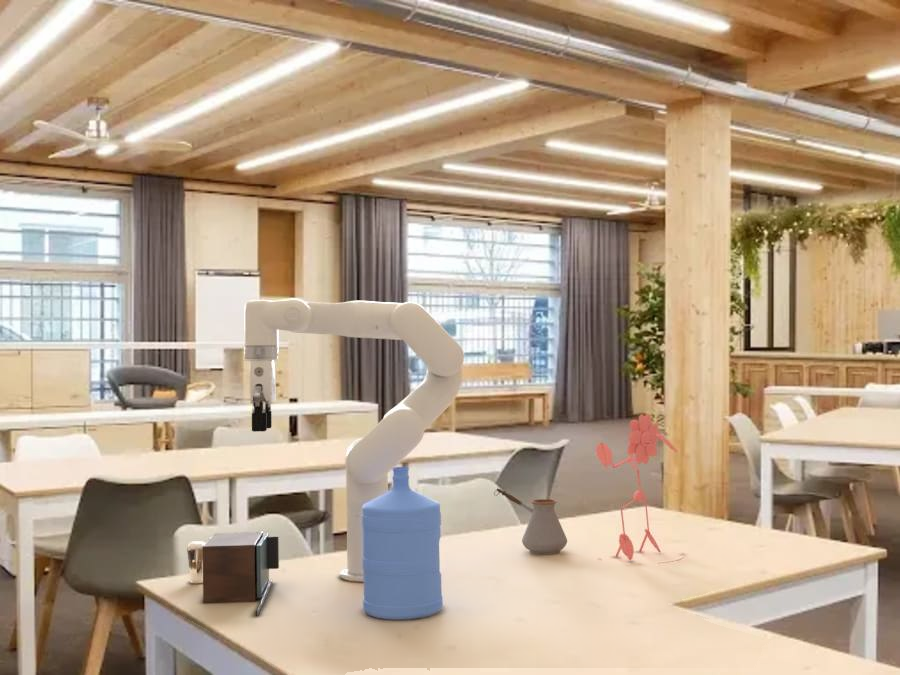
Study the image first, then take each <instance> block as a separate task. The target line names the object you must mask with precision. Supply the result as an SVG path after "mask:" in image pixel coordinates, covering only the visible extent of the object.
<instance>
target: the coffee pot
mask: <svg viewBox="0 0 900 675" xmlns="http://www.w3.org/2000/svg"><path fill="white" fill-rule="evenodd" d="M496 492H498V493H497V494H496ZM499 494H501V496H504V497H505V498H507V499H508V500H509V501H511V502H513V503H515V504H517V505H519V506H521V507H522V508H524V509H526V510H527V511H528V512H530V513H531V516H530V518H529V520H528V524H527V526H526V528H525V531H524V534H523V536H522V539H521V543H522V545H523V547H524V548H525V549H526V550H528V551H529V553H530V554H533V555H557V554H560V552H561V551H562V550H563V549H564V548H565V547H566V546H567V544H568V539H567V536H566V534H565V531H564V529H563V527H562V524H561V522H560V520H559V517H558V515H557V513H556V511H555V507H556V506H555V504H557V500H556V499H547V498H545V499H533V500H531V501H530V503H531V504H532V506H533V508H532V507H531V506H529V505H527V504H525V503H524V502H522V501H520V500H519V499H518V498H516V497H515V496H513V495H512V494H510V493H507V492H506V491H505V490H502V489H501V488H497V487H496V489H495V490H494V492H493V495H494V496H495V497H496V496H498V495H499Z"/></svg>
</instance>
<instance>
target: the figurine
mask: <svg viewBox="0 0 900 675" xmlns="http://www.w3.org/2000/svg"><path fill="white" fill-rule="evenodd" d="M629 427H630V430H631V432H630V434H629V435H628V442H629V443H628V445H627V449H626V450H627V454H628V455H629V457H628V458H627V459H625V460H623V461H621V462H618V463H617V464H614V463H613V453H612V449H610V447H609V446H608V445H607V444H604V443H603V442H602V441H600V442H599V443H598V444H597V445H596V449H595V456H596V458H597V460H598V461H599V462H600V463H601V464H602V465H603V466H605V467H606V468H609V466H611V467H612V469H615V468H618V467H619V466H622V465H624V464H625V463H627V462H629V463H630V464H631V465H632V467H633V468H634V469H635V471H636V475H637V482H638V488H639V490H636V491H635V492H634V493H633V500H632V501H630V502H628V503H626V504H625V505H624V506H622V507H620V516H621V523H622V525H621V526H622V533H621V534H619V536H618V543H619V546H618V548H617V551H616V554H615V556H614V557H615V558H618V557H619V554H620V552H622V553H623V554H624V556H625V557H626V558H627V559H628V560H629V561H632V559H633V556H634V553H635V551H634V550H635V549H634V544H633V542H632V540H631V539H630V537H629V535H627V534H626V531H625V522H624V514H623V510H624V509H625V508H626V507H628V506H629V505H631V504H632V503H634V502H639V503H641V502H643V503H644V507H645V518H646V527H647V528H644V532H645V535H644V537H643V540H642V543H641V544H640V547H639V550H638V553H642V551H643V548H644V547H645V546H644V545H645V543H646V541H647V539H648V540H649V541H650V543H651V544H652V546H653V547H654V548H655V549H656V550H657V551H658V552H659V553H661V549H660V547H659V545H658V543H657V541H656V539H655V538H654V536H653V535H652V534H651V532H650V527H649V515H648V514H649V513H648V504H647V501H646V494H645V493H644V491H642V485H641V476H640V475H641V474H640V470H639V469H638V467H637V466H636V464H637V465H640V464H641V463H643V464H644V465H647V464H648V463H649V460H650V459H649V458H650V457H656V456H657V455H658V449H657V447H656V445H657V443H658V441H659V439H660V440H661V441H662V442H663V443H664V444H665V445H666V446H667V447H669V448H670V449H671V450H672V451H674V452H676V453H677V452H678V450H677V448H676V447H675V446H674V445H673V443H672V442H670V441H669V439H668V438H666V437H665V435H664V434H662V433H661V432H659V424H658V423H657V422H655V423H652V417H651V414H650V413H646V414H645V415H644V414H640V415H639V416H638V420H637V419H631V420H630V421H629ZM633 457H635V458H633ZM634 461H635V463H636V464H635V463H634ZM681 553H682V554H684V555H683V557H681V558H679V559H676V560H672V561H670V563H672V562H680V561H681V560H683V559H684V558H685V553H684V552H681ZM686 558H687V555H686ZM599 560H600V561H603V559H602V558H599ZM668 563H669V561H664V562H662V564H668ZM657 564H658V565H659V564H660V562H657Z"/></svg>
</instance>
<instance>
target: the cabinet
mask: <svg viewBox="0 0 900 675" xmlns="http://www.w3.org/2000/svg"><path fill="white" fill-rule="evenodd" d="M263 535H264V532H263V531H250V532H249V531H248V532H247V531H246V532H245V531H244V532H216V533H215V532H214V534H213V535H212V536H211V537H209V538H210V539H209V538H208V540H207V541H206V542H205V545H204V546H203V583H202V602H203V604H210V603H212V604H213V603H238V602H239V603H240V602H241V603H242V602H256V601H257V599H258V598H257V544H258V543H259V541H260V540H261V538H262V537H263ZM272 586H273V578H271V579H269V582H268V584H267V586H266V589H265V591H264V593H263V595H262V597H261V598H260V600H259V603H258V604H257V608H256V609H255V612H254V613H255V614H254V615H255V617H258V616H259V613H260V611H261V609H262V607H263V605H264V603H265V600H266V598H267V596H268V594H269V592H270V590H271V588H272Z"/></svg>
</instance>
